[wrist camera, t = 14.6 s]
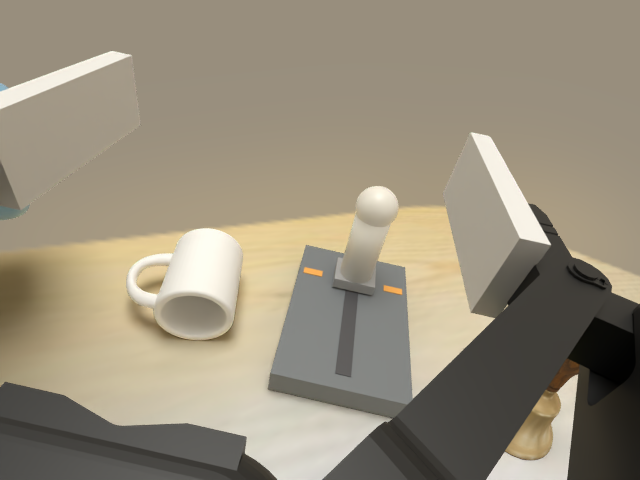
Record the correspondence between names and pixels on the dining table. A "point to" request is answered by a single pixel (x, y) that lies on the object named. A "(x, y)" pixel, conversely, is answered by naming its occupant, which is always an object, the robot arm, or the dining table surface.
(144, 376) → the dining table surface
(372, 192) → the lever
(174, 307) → the mug
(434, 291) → the dining table surface
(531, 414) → the hand bell
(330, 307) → the console
